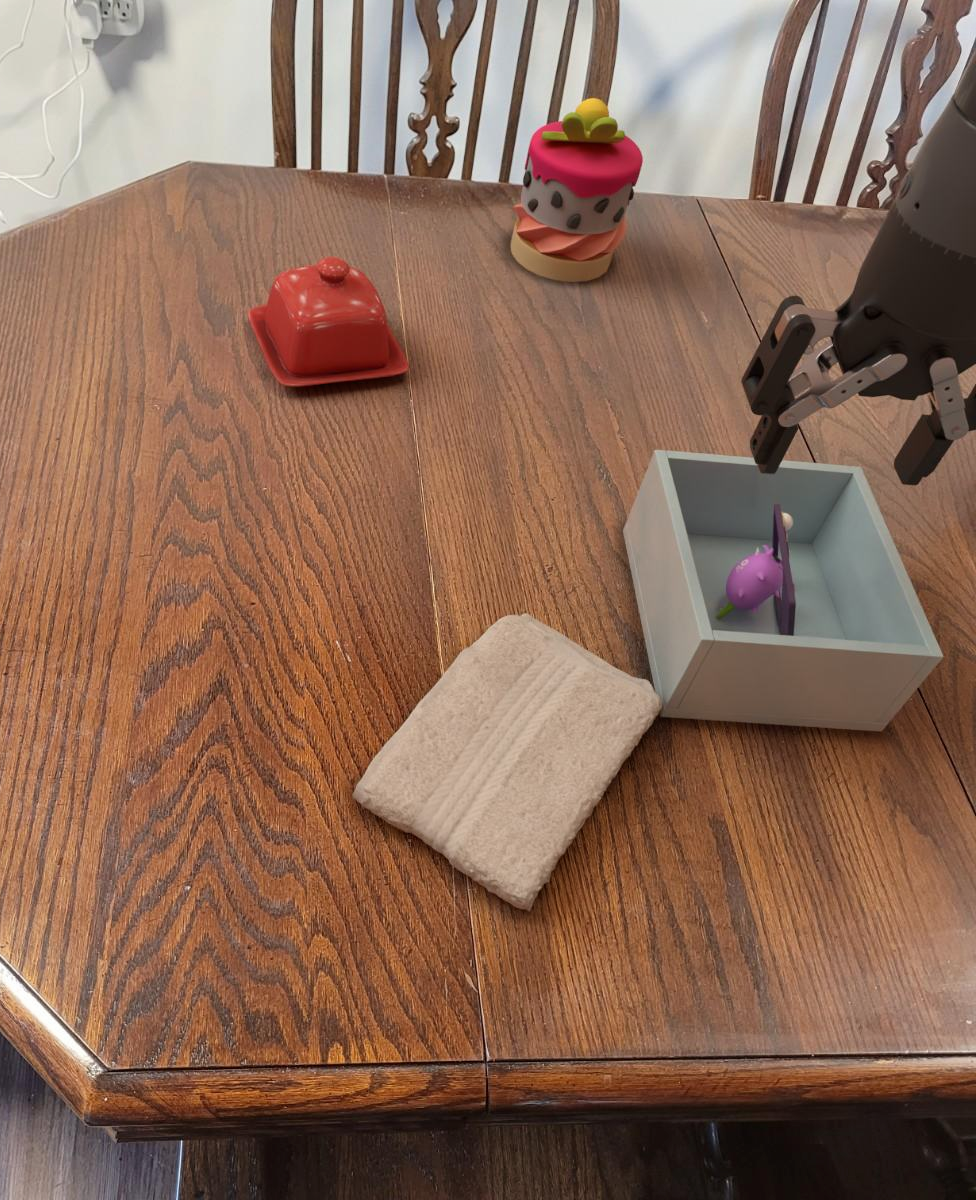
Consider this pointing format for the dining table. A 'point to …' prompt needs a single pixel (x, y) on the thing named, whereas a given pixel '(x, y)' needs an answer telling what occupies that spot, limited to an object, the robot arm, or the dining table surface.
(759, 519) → the open box
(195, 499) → the dining table surface
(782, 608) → the pink dragon fruit
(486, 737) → the washcloth
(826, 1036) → the dining table surface
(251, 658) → the dining table surface
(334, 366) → the butter dish
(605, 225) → the cake
